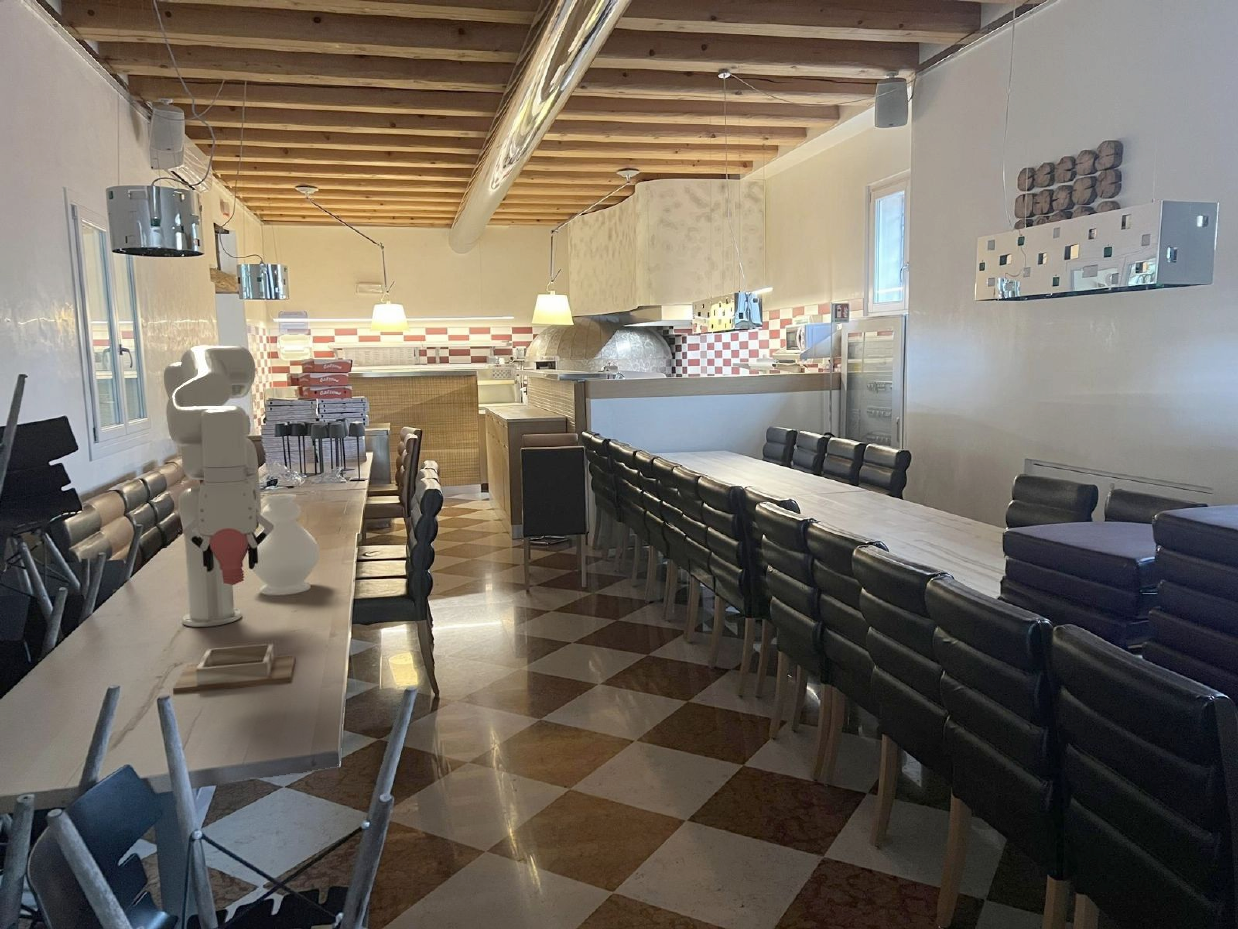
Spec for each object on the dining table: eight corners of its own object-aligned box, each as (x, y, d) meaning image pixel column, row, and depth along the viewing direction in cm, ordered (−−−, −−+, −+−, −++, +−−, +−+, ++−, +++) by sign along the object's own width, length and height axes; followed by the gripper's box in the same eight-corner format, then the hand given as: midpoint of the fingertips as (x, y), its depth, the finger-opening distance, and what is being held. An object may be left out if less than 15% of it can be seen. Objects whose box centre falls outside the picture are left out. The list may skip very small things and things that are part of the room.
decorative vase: (319, 578, 246) (315, 489, 243) (322, 594, 229) (318, 498, 226) (250, 584, 239) (245, 493, 236) (248, 600, 223) (243, 503, 220)
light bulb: (205, 584, 167) (202, 522, 166) (243, 578, 172) (240, 517, 171) (220, 591, 162) (216, 527, 161) (258, 584, 167) (255, 522, 166)
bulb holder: (187, 669, 173) (186, 650, 172) (295, 660, 178) (294, 640, 178) (173, 693, 160) (171, 672, 160) (290, 682, 166) (289, 661, 165)
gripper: (277, 471, 171) (282, 561, 173) (179, 474, 166) (185, 567, 168) (273, 476, 164) (278, 570, 166) (170, 479, 159) (177, 576, 161)
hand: (231, 568), depth 167 cm, fingers closed on light bulb, 6 cm apart
